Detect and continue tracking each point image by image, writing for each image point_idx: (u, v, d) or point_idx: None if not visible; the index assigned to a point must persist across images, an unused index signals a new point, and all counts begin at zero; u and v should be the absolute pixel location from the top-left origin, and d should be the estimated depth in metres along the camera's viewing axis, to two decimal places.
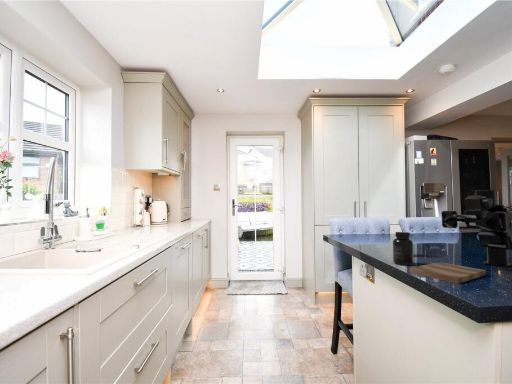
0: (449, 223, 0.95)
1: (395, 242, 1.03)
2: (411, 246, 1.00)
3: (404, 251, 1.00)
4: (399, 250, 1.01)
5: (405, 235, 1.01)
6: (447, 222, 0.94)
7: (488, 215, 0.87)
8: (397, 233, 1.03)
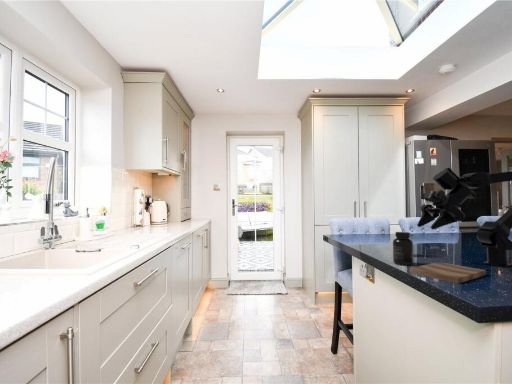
0: (425, 222, 1.07)
1: (395, 242, 1.03)
2: (411, 246, 1.00)
3: (404, 251, 1.00)
4: (399, 250, 1.01)
5: (405, 235, 1.01)
6: (421, 224, 1.07)
7: (440, 213, 0.97)
8: (397, 233, 1.03)
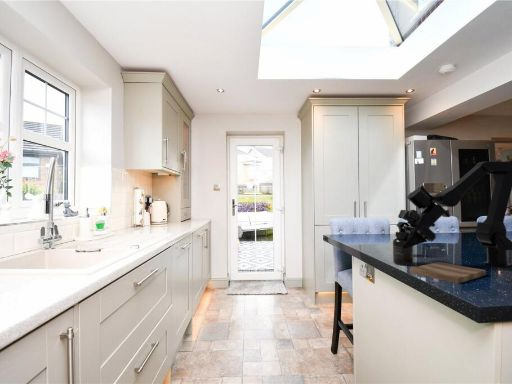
0: None
1: (395, 242, 1.03)
2: (411, 246, 1.00)
3: (404, 251, 1.00)
4: (399, 250, 1.01)
5: (405, 235, 1.01)
6: None
7: (411, 232, 0.99)
8: (397, 233, 1.03)
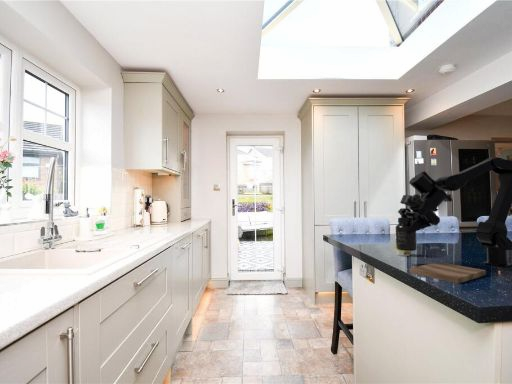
0: None
1: (398, 228, 1.01)
2: None
3: (408, 236, 0.99)
4: (402, 236, 1.00)
5: (408, 220, 1.00)
6: None
7: (415, 217, 0.98)
8: (400, 219, 1.02)
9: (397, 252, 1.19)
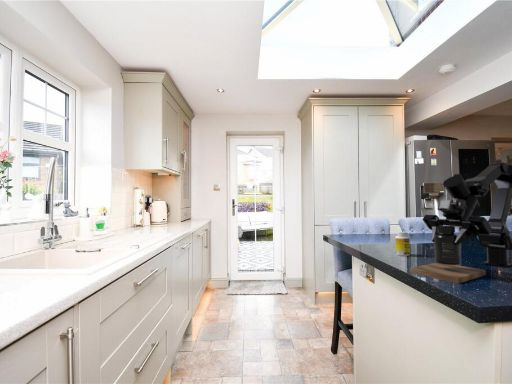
0: None
1: (443, 238, 0.86)
2: None
3: (456, 248, 0.85)
4: (449, 248, 0.85)
5: (453, 229, 0.87)
6: None
7: (463, 226, 0.85)
8: (444, 228, 0.87)
9: (397, 252, 1.19)
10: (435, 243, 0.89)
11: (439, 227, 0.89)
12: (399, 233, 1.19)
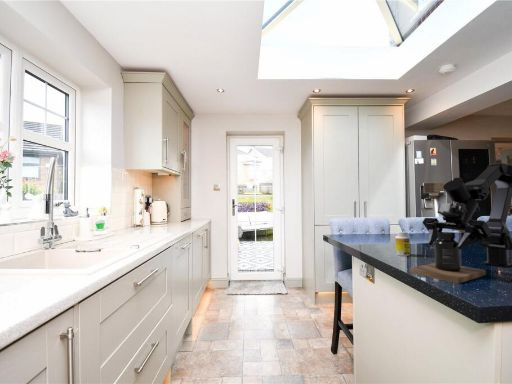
0: (434, 239, 0.93)
1: (443, 244, 0.86)
2: None
3: (456, 254, 0.85)
4: (450, 254, 0.85)
5: (453, 236, 0.87)
6: (432, 241, 0.93)
7: (466, 229, 0.84)
8: (444, 234, 0.87)
9: (397, 252, 1.19)
10: (435, 249, 0.89)
11: (439, 233, 0.89)
12: (399, 233, 1.19)
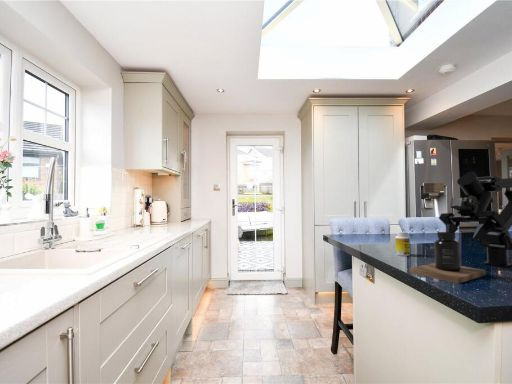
0: None
1: (444, 244, 0.86)
2: (459, 248, 0.87)
3: (456, 255, 0.85)
4: (450, 254, 0.85)
5: (453, 236, 0.87)
6: None
7: (479, 221, 0.89)
8: (444, 234, 0.87)
9: (397, 252, 1.19)
10: (435, 249, 0.89)
11: (439, 233, 0.89)
12: (399, 233, 1.19)
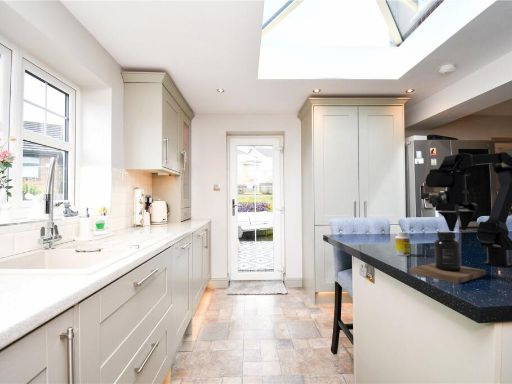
0: (466, 221, 1.00)
1: (443, 245, 0.86)
2: None
3: (456, 255, 0.85)
4: (450, 254, 0.85)
5: (453, 236, 0.87)
6: (464, 226, 1.01)
7: None
8: (444, 234, 0.87)
9: (397, 252, 1.19)
10: (435, 249, 0.89)
11: (439, 233, 0.89)
12: (399, 233, 1.19)
